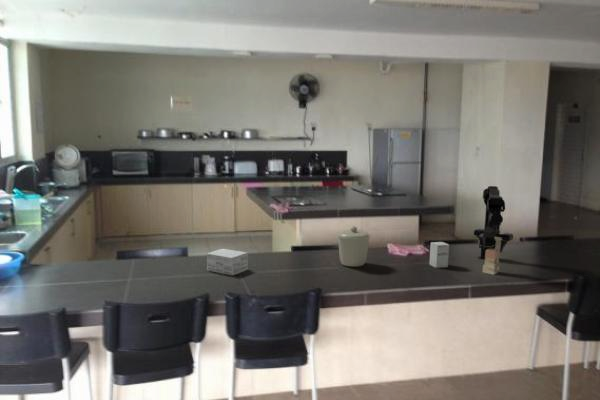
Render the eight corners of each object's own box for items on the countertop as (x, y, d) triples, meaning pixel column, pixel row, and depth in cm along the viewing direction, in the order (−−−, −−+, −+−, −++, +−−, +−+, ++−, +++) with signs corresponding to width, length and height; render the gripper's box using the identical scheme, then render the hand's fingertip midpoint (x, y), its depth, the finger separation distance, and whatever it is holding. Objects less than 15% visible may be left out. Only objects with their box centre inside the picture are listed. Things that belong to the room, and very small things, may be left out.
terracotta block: (489, 255, 272) (489, 248, 271) (498, 257, 268) (499, 250, 268) (485, 257, 268) (485, 250, 267) (494, 259, 265) (495, 251, 264)
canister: (368, 270, 269) (369, 230, 266) (333, 267, 272) (334, 228, 269) (370, 261, 286) (371, 224, 283) (338, 259, 290) (339, 222, 287)
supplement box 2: (248, 269, 267) (248, 252, 265) (232, 276, 256) (232, 257, 254) (223, 264, 275) (222, 247, 274) (206, 270, 264) (206, 252, 263)
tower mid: (489, 263, 272) (489, 255, 271) (498, 265, 268) (498, 257, 268) (484, 264, 269) (485, 257, 268) (493, 267, 265) (494, 259, 264)
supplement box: (436, 268, 275) (437, 245, 273) (429, 264, 282) (430, 241, 280) (448, 267, 277) (449, 244, 275) (441, 263, 284) (442, 241, 282)
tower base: (487, 270, 273) (488, 262, 273) (498, 272, 269) (499, 265, 269) (482, 272, 269) (483, 264, 269) (493, 274, 265) (494, 267, 264)
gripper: (470, 220, 266) (468, 250, 268) (506, 226, 253) (503, 256, 255) (479, 218, 274) (477, 246, 276) (514, 223, 261) (512, 253, 263)
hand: (492, 250), depth 267 cm, fingers open, 9 cm apart
